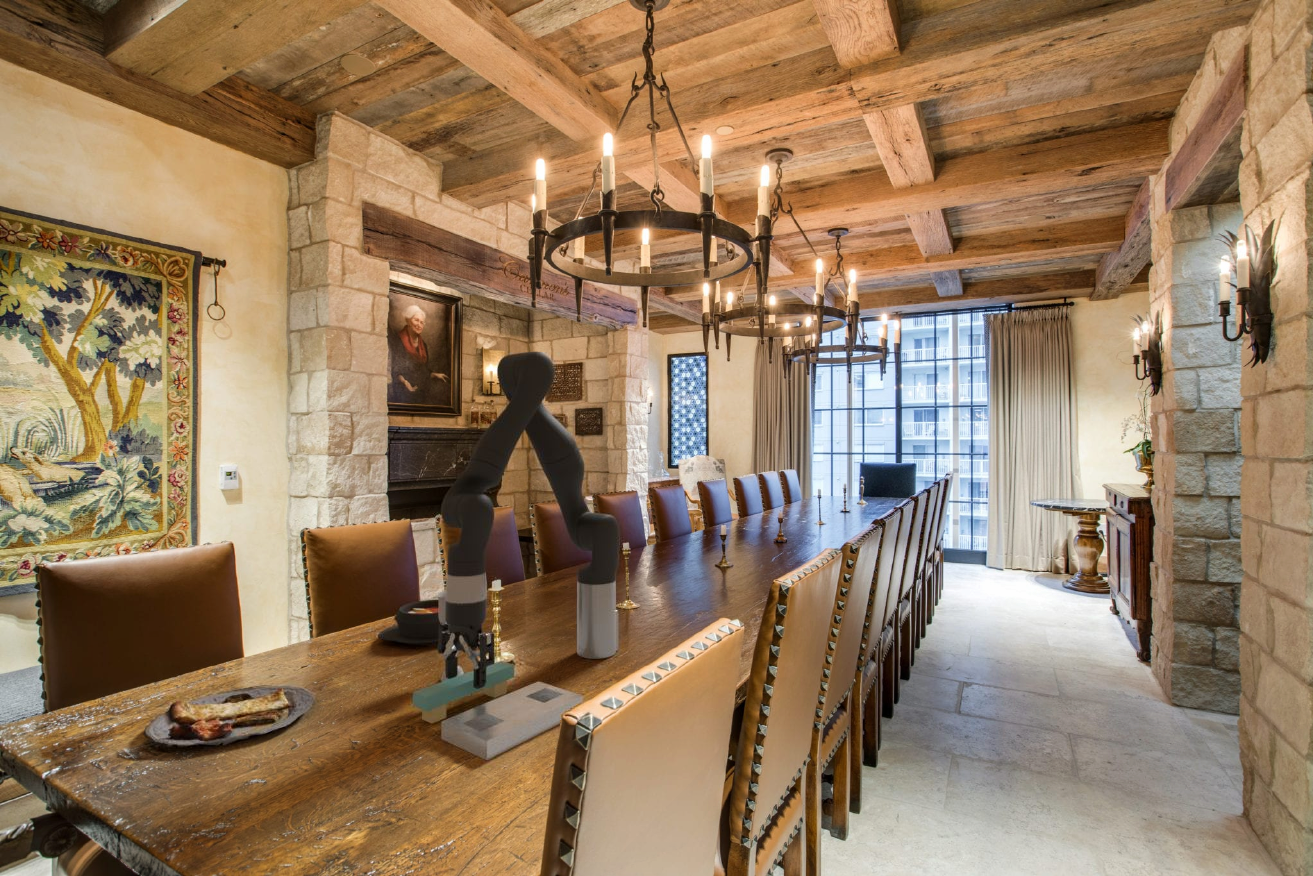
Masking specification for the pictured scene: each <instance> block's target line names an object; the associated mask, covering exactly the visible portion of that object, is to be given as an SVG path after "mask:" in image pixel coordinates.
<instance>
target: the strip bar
mask: <svg viewBox="0 0 1313 876" xmlns="http://www.w3.org/2000/svg"><path fill="white" fill-rule="evenodd" d="M513 678H515V664H512V663H509V662H507V661H503V660H500V661H497V662H495V663H494V664H492V665H489V666H487V668H486V684H485V686H484V687H482V688H479V689H476V688H474V687H473V681H474V670H472V671H469V672H464V674H463V675H460V676H457V677H454V678H451V679H448V680H446V681H443V682H442V681H440V682H438V683H434V684H432V685H429V686H426V687H423V688H421V689H418V690H415V691H413V692H412V707H414V708H417V709H419V710H421V720H423V721H425V722H428V723H429V724H434V723H437V722H440V721H441V720H442V721H443V720H446V718H447V704H449V703H452V702H454V701H456V700H460V699H462V698H465V697H468V696H469V695H470V696H471V695H472V694H475V693H477V692H481V691H483V690H484V695H486V696H489V697H491V698H494V699H497V697H498V698H499V697H502V696H504V695H507V694H508V693H507V691H508V690H507V689H508V680H509V681H510V680H512V679H513Z"/></svg>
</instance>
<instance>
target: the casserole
mask: <svg viewBox="0 0 1313 876" xmlns="http://www.w3.org/2000/svg"><path fill="white" fill-rule="evenodd" d="M393 618H394V620H395V622H396V623H397V624H396V625H392V626H389V627H387V628H385V629H383V630H382V631H380V632H379V633H378V634H377V638H378V639H379V640H381V641H387V642H388V641H389V642H397V643H404V644H408V645H413V646H430V645H431V646H432V645H438V635H439V624H440V621H439V600H438V599H428V600H427V599H426V600H419V601H414V602H410V603H406V604H404V605H403V606H400V607H399V608H398V610H397V613H396V615H395V616H394V617H393ZM446 642H447V640H446V641H444V643H446Z"/></svg>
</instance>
